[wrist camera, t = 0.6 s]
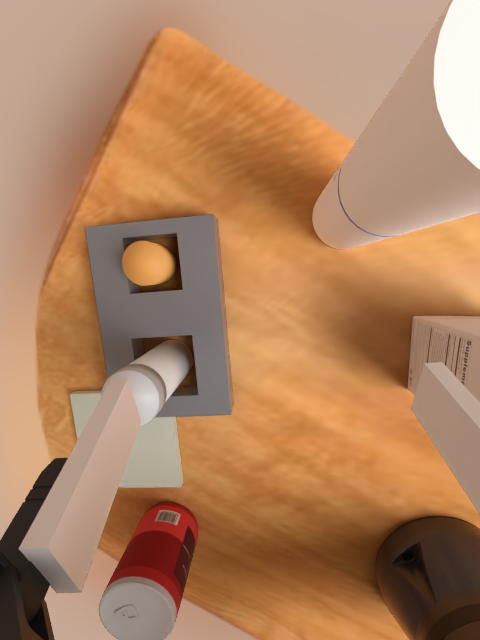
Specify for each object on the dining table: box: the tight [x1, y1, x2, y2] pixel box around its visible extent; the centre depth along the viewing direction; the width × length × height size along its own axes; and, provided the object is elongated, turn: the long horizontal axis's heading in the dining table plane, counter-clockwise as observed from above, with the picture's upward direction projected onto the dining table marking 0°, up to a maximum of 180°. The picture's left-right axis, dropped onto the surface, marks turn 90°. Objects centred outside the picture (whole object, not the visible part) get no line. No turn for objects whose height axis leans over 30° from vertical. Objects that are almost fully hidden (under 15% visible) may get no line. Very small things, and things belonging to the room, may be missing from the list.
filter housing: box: [85, 214, 234, 418], centre depth 35 cm, size 22×14×3 cm, turn 5°
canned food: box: [99, 502, 198, 640], centre depth 36 cm, size 8×8×11 cm
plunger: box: [122, 241, 177, 286], centre depth 32 cm, size 4×4×4 cm
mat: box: [70, 390, 183, 488], centre depth 39 cm, size 13×13×1 cm
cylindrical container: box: [312, 0, 480, 250], centre depth 21 cm, size 7×7×25 cm
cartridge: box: [101, 340, 193, 427], centre depth 32 cm, size 5×5×12 cm
